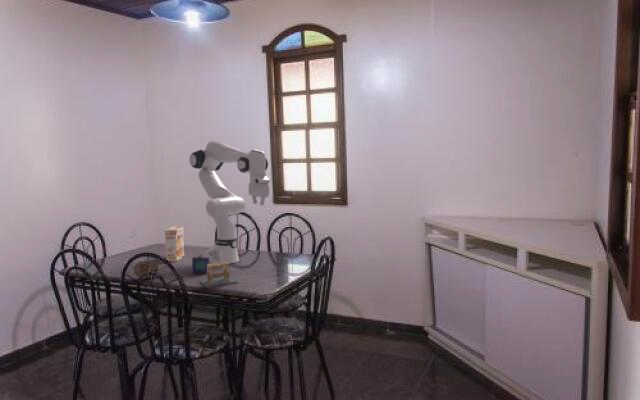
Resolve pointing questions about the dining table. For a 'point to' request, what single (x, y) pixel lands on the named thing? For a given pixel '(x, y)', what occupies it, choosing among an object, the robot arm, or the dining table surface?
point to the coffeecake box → (174, 243)
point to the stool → (218, 266)
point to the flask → (200, 264)
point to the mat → (218, 282)
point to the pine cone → (146, 268)
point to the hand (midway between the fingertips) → (258, 204)
